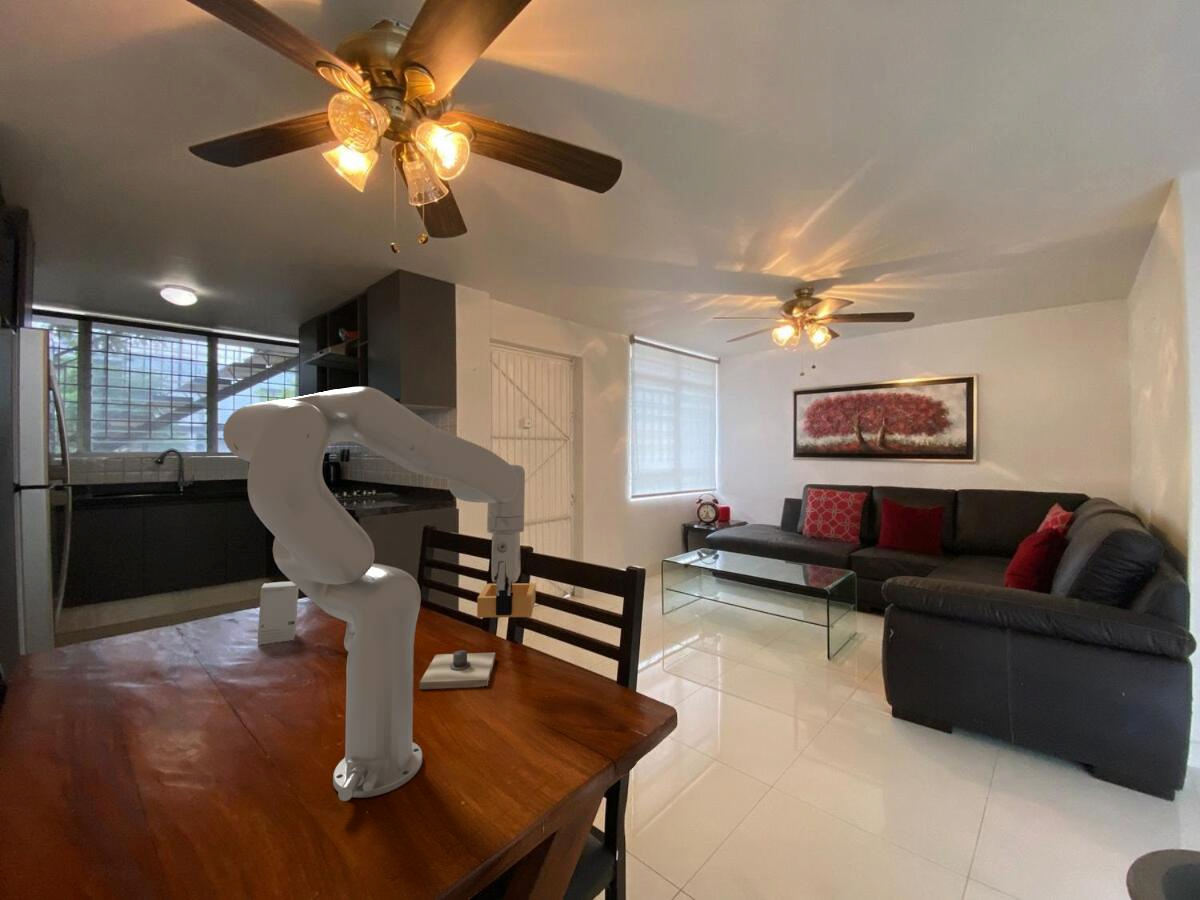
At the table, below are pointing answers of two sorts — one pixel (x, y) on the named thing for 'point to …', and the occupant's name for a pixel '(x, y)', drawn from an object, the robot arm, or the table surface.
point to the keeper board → (458, 670)
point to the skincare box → (277, 612)
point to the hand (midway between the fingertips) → (504, 613)
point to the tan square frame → (520, 600)
